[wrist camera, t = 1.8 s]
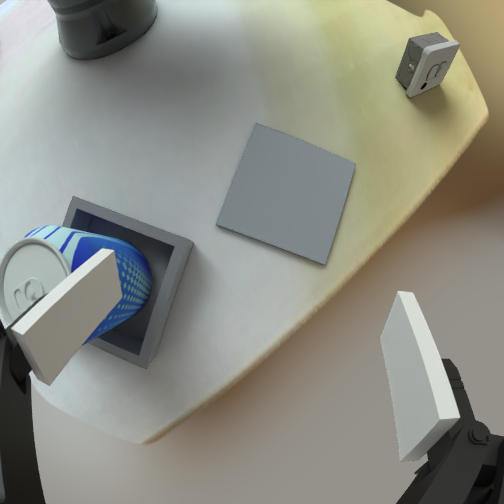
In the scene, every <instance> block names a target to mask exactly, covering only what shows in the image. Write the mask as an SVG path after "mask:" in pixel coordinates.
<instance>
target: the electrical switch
mask: <svg viewBox="0 0 504 504" xmlns="http://www.w3.org/2000/svg"><path fill="white" fill-rule="evenodd" d="M411 40H412V41H411ZM414 42H415V43H414ZM459 45H460V44H459V43H458V42H457V41H456V40H454V41H449V40H447V39H446V38H444V37H443V36H441V35H440V34H439V33H438V32H435V33H430V34H426V35H421V36H416V37H412V38H409V40H408V43H407V46H406V49H405V52H404V55H403V57H402V60H401V63H400V66H399V68H398V71H397V74H396V78H397V79H398V80H399V81H400V82H401V83H402V84H403V85H404V86H405V87H406V88H407V91H406V94H407V95H408V96H409V97H414V96H416V95H418V94H420V93H422V92H424V91H426V90H428V89H431V88H433V87H435V86H437V85H439V84H440V83H441V82H442V81H443V79H444V77H445V75H446V73H447V71H448V69H449V67H450V65H451V63H452V61H453V59H454V57H455V55H456V53H457V51H458V49H459ZM410 46H411V47H410ZM409 64H411V67H409ZM408 69H409V70H408Z"/></svg>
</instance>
